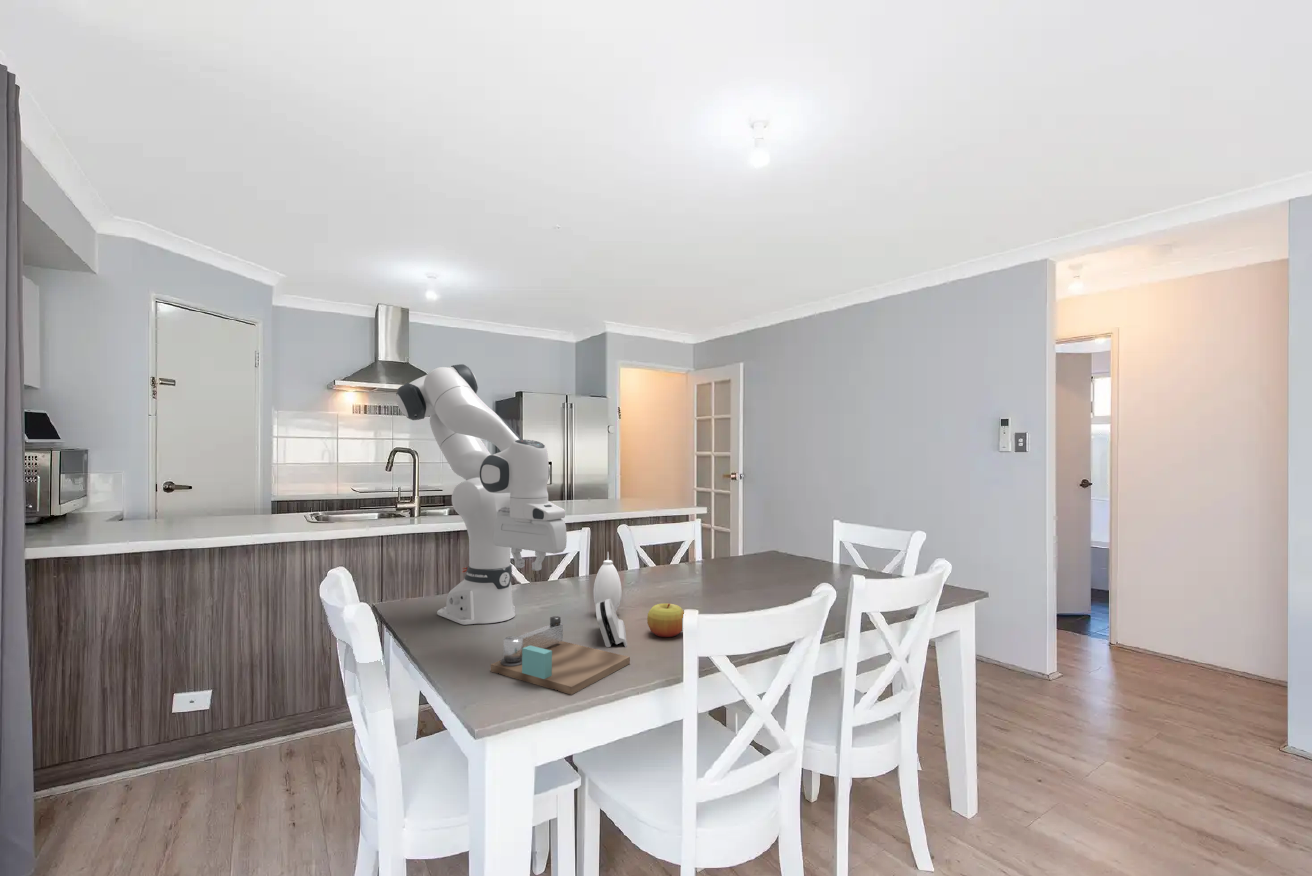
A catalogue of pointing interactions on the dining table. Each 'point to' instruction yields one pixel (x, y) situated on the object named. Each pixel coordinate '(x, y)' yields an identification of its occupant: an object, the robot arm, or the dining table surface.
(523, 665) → the block
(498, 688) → the dining table surface
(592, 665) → the wooden cutting board
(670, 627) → the apple
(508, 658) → the lock bar
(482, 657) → the dining table surface
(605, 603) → the white slotted block
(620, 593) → the white tall oval piece
